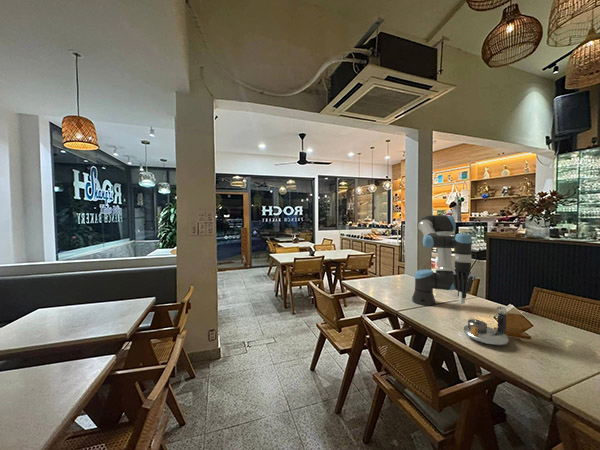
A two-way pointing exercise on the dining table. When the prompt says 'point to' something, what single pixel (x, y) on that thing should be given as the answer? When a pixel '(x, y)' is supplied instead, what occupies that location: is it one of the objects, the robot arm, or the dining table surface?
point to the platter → (487, 335)
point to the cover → (478, 325)
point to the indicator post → (501, 319)
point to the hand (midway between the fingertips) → (461, 303)
